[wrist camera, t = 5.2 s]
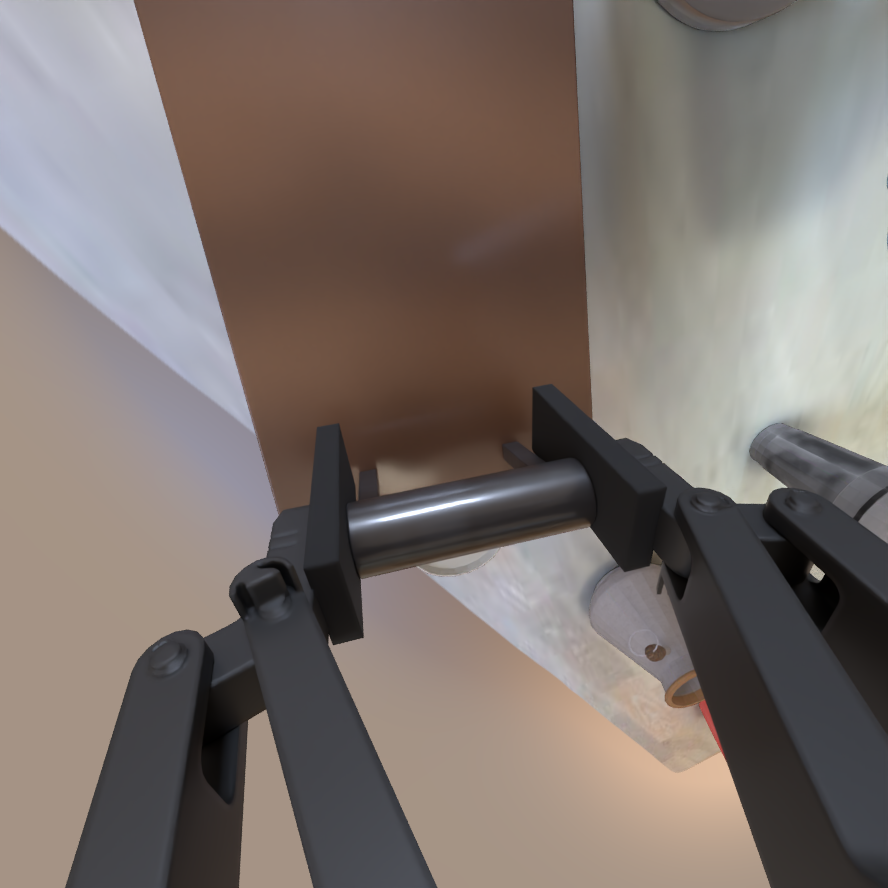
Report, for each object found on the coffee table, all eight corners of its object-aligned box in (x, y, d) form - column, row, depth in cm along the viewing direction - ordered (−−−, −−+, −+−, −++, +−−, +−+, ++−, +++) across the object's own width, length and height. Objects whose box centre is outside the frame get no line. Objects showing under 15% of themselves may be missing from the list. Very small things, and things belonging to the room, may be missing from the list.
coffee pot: (679, 579, 54) (784, 698, 41) (604, 629, 56) (681, 756, 43) (606, 487, 43) (717, 610, 30) (516, 553, 45) (586, 694, 32)
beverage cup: (812, 405, 43) (1115, 543, 26) (787, 465, 47) (1037, 617, 30) (750, 417, 42) (1023, 567, 25) (729, 476, 46) (954, 641, 29)
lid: (587, 476, 20) (698, 550, 13) (291, 538, 18) (247, 661, 12) (557, -88, 14) (728, -458, 8) (120, -76, 12) (-167, -549, 6)
